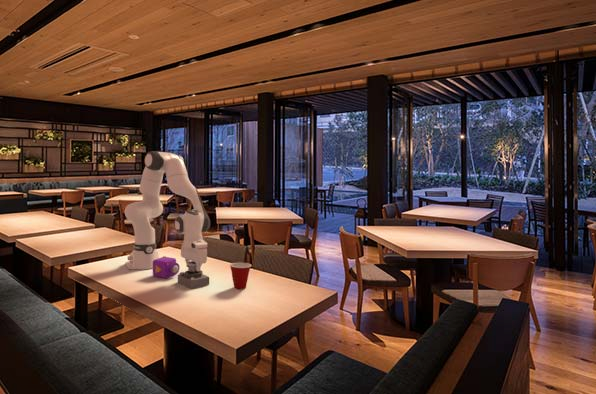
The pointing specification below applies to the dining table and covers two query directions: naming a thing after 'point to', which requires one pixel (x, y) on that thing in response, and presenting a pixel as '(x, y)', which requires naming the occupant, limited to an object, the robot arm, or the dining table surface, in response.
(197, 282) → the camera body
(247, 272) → the plastic cup
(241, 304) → the dining table surface
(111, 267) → the dining table surface
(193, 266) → the lens
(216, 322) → the dining table surface
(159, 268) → the purple box with triangle
